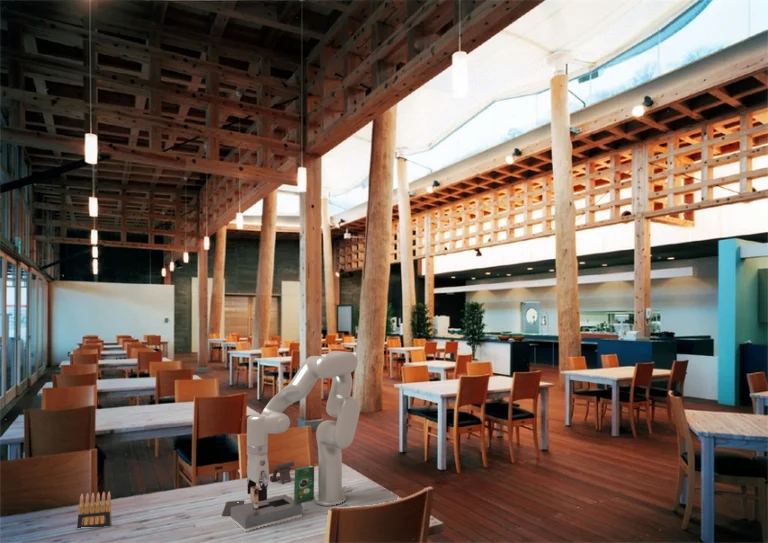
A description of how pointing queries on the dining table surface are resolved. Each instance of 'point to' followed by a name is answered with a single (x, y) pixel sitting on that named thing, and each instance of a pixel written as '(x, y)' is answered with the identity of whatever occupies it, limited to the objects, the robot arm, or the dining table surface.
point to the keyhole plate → (266, 512)
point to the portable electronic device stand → (282, 472)
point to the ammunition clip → (94, 511)
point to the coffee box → (304, 483)
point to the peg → (254, 496)
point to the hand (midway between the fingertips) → (257, 496)
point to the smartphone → (228, 507)
